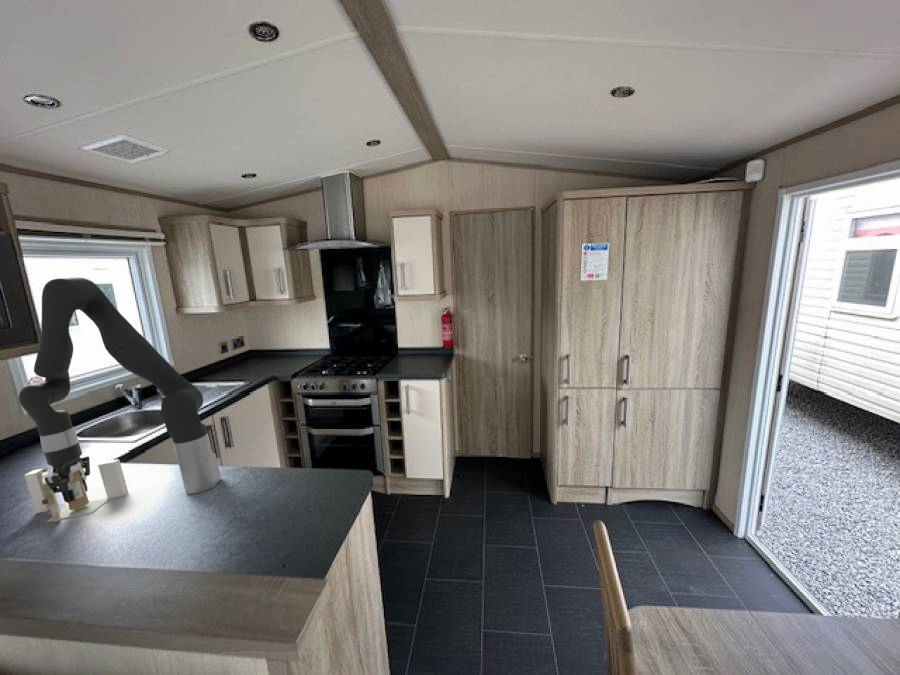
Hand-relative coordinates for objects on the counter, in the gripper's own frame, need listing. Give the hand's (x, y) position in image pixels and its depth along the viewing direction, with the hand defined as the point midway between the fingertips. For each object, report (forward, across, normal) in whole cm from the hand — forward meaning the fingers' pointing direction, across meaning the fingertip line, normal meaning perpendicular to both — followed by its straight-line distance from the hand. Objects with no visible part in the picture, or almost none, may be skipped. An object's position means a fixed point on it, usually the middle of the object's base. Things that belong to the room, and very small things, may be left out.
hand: (77, 496), depth 115 cm
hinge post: (+4, +5, +13) cm, 15 cm away
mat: (+4, 0, 0) cm, 4 cm away
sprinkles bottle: (+4, 0, 0) cm, 4 cm away
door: (+4, -1, +7) cm, 8 cm away
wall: (+4, +5, -7) cm, 10 cm away
